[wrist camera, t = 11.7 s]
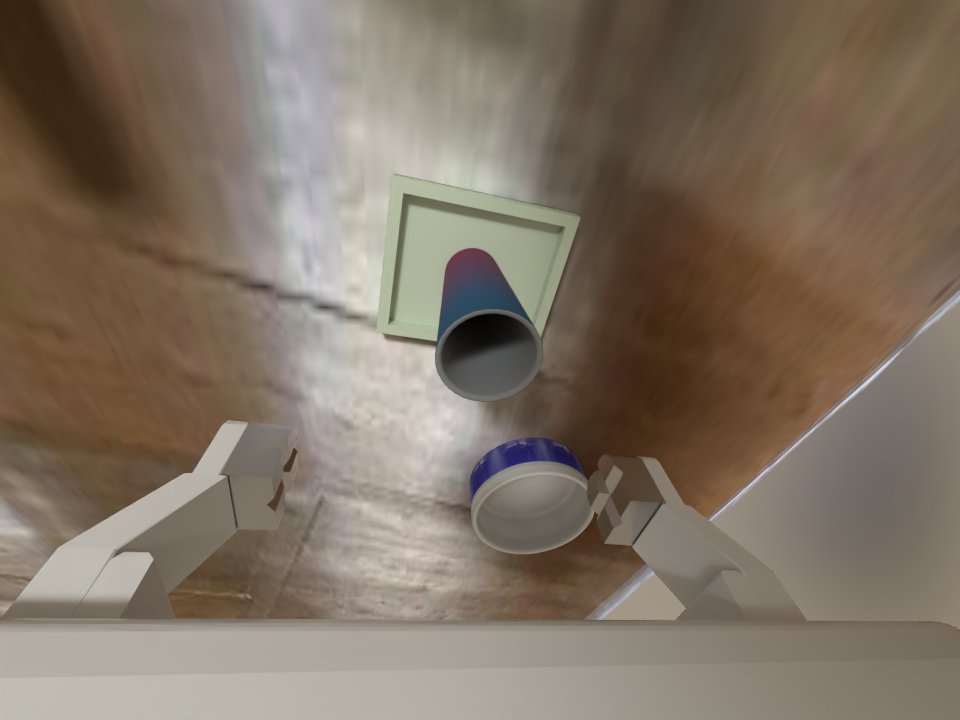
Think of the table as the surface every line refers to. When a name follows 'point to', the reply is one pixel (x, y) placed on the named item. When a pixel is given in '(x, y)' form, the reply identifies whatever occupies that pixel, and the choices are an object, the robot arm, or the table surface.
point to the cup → (484, 331)
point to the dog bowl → (529, 497)
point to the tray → (460, 225)
